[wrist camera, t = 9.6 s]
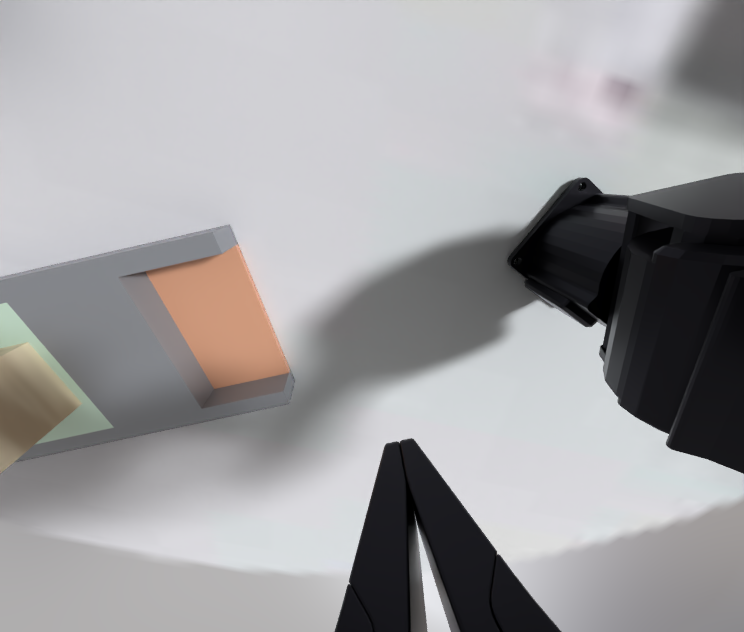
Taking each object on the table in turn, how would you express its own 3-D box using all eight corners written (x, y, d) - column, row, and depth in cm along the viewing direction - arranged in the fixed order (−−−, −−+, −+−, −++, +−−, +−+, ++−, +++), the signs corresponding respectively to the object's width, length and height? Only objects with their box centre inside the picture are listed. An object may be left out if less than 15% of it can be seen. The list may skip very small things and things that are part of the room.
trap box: (229, 224, 17) (212, 231, 15) (294, 381, 23) (289, 403, 21) (-184, 319, 18) (-259, 339, 16) (-24, 449, 24) (-63, 478, 21)
